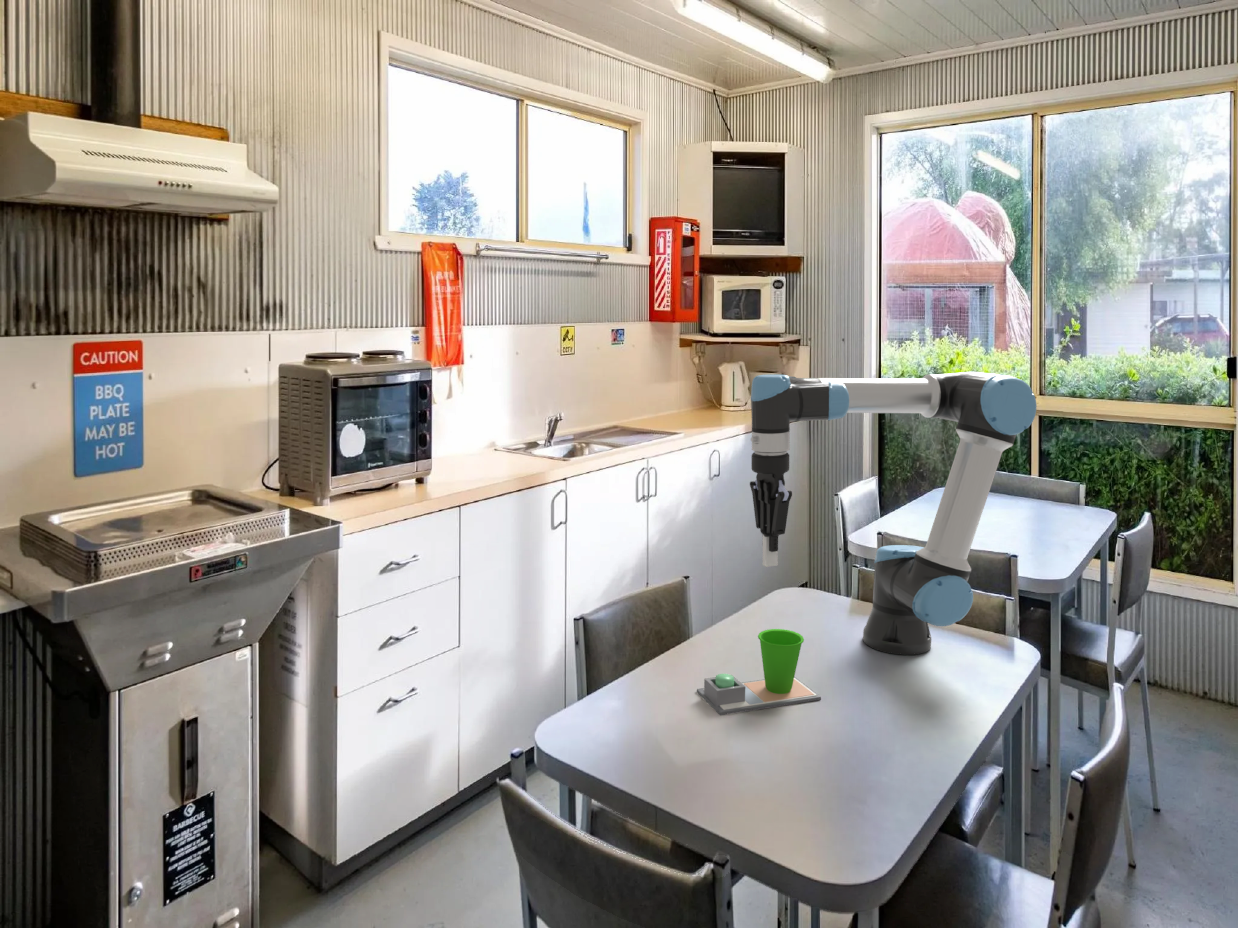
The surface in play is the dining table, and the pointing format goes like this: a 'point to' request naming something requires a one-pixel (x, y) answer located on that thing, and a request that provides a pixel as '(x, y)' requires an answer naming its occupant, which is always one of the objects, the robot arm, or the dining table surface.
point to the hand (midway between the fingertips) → (770, 565)
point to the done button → (724, 681)
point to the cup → (779, 658)
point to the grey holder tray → (752, 696)
